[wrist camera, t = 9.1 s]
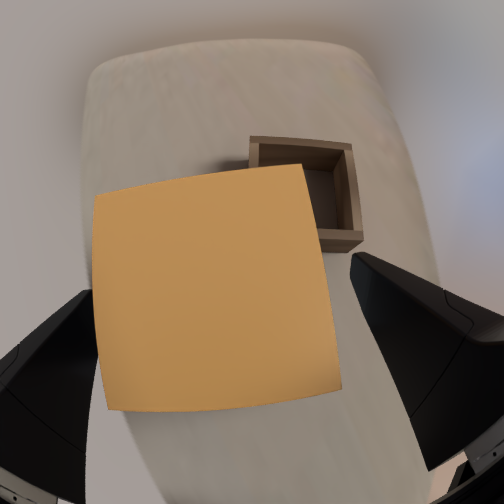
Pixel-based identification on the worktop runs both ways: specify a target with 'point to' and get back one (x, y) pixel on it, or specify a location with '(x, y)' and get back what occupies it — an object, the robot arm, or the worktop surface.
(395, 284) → the robot arm
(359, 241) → the square frame
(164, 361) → the plug
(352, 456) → the worktop surface
